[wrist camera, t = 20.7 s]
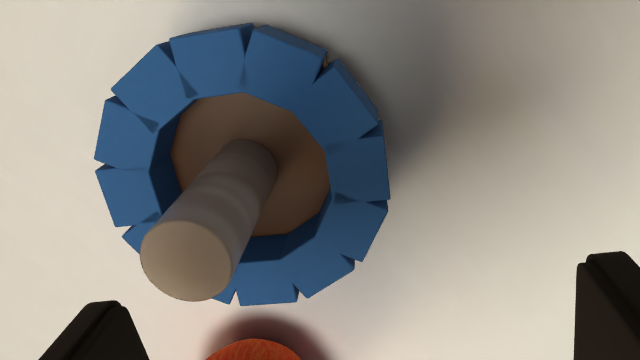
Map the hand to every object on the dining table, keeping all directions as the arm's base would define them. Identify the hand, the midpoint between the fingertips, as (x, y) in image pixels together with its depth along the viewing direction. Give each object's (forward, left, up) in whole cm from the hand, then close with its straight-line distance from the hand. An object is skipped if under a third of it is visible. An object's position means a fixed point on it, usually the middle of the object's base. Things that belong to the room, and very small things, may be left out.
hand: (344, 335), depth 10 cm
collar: (+5, 0, -12) cm, 13 cm away
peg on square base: (+5, 0, -14) cm, 15 cm away
